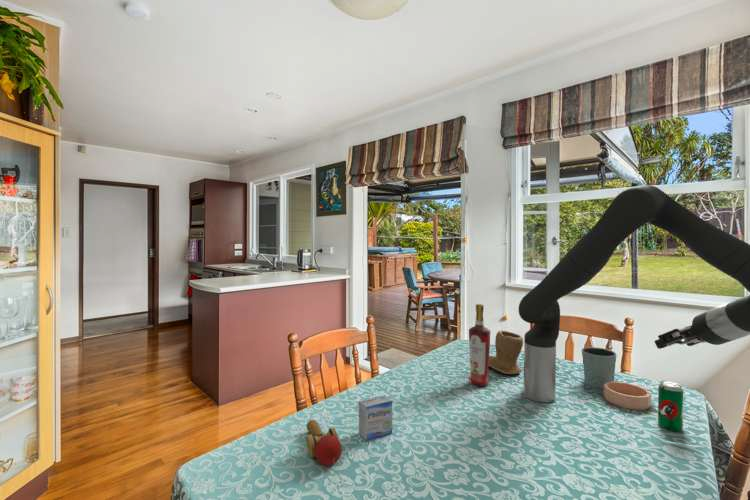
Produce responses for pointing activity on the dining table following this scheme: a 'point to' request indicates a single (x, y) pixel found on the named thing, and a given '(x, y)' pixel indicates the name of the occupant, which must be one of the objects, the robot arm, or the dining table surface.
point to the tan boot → (506, 352)
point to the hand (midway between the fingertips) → (672, 343)
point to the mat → (651, 409)
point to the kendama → (323, 444)
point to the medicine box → (375, 417)
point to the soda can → (670, 406)
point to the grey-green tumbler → (598, 366)
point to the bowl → (627, 395)
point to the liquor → (479, 349)
